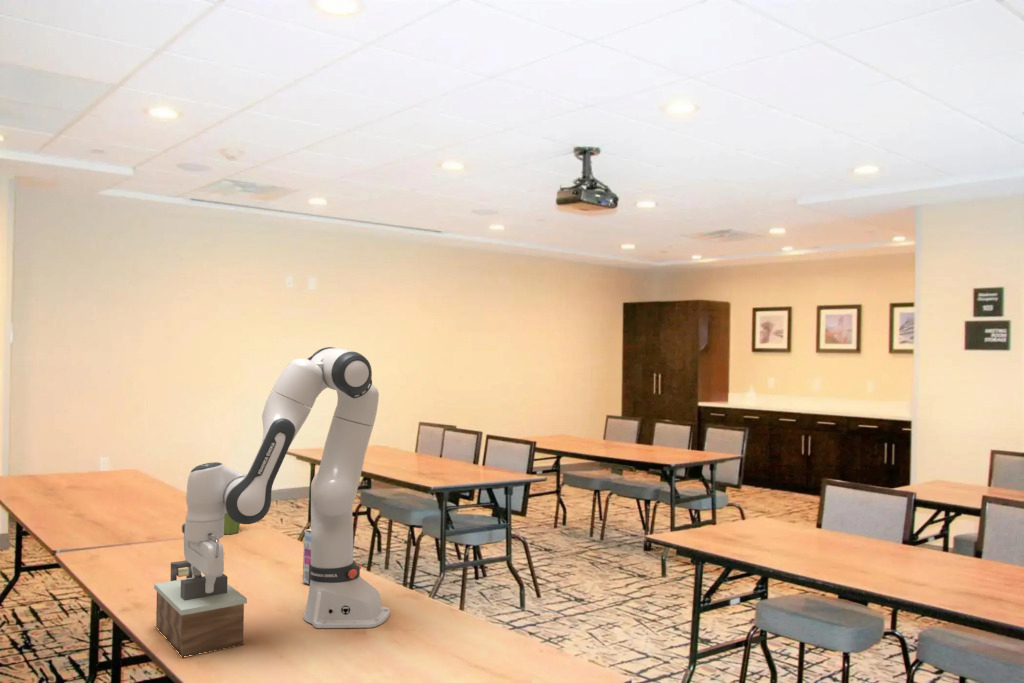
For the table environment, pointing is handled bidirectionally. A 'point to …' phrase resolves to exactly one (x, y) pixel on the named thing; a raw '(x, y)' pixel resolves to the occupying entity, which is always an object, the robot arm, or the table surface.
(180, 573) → the light wooden beam
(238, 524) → the plant pot
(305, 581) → the candy bar box
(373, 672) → the table surface
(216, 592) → the lid
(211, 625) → the toolbox
